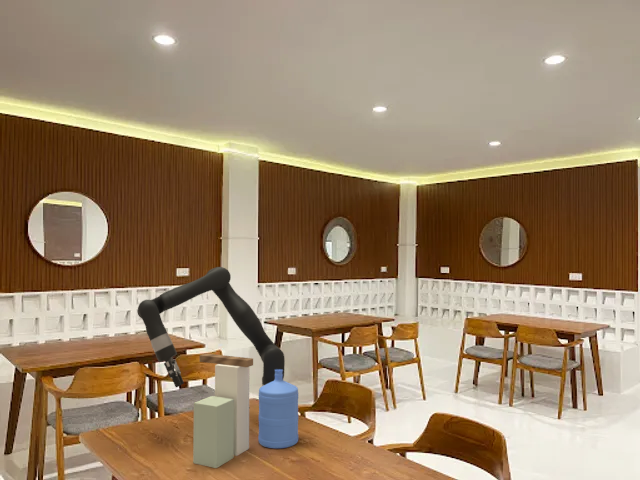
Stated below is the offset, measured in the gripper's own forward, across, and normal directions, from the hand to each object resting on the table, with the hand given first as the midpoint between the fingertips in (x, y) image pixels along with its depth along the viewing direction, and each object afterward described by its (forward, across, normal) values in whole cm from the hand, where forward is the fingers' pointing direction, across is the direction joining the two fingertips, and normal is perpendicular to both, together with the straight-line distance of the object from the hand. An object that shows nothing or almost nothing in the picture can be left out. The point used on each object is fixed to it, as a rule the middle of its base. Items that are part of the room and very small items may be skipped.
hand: (180, 385), depth 200 cm
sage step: (+29, -16, -2) cm, 33 cm away
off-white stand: (+30, -7, -9) cm, 32 cm away
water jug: (+37, -1, -25) cm, 45 cm away
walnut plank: (0, -10, -20) cm, 22 cm away
